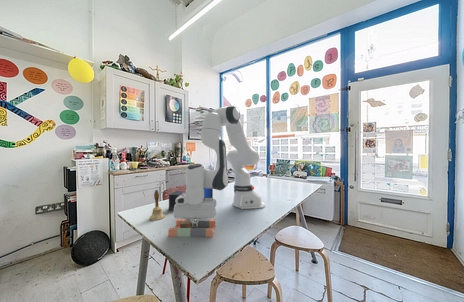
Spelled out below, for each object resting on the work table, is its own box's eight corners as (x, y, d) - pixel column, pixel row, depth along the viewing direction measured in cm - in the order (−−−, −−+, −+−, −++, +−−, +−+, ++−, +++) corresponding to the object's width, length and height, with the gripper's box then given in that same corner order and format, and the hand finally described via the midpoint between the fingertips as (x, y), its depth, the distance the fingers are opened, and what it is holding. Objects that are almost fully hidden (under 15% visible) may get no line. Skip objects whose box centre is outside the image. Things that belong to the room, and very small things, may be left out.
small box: (177, 211, 110) (177, 194, 110) (168, 210, 111) (168, 194, 111) (185, 205, 120) (185, 190, 120) (176, 205, 121) (176, 190, 121)
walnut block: (194, 227, 87) (194, 219, 87) (189, 233, 81) (189, 224, 81) (185, 226, 88) (185, 218, 88) (180, 232, 82) (180, 223, 82)
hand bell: (150, 221, 94) (150, 192, 94) (148, 217, 101) (147, 189, 100) (166, 218, 99) (166, 190, 99) (162, 213, 106) (162, 187, 105)
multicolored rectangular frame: (215, 225, 90) (215, 219, 90) (212, 237, 78) (212, 230, 78) (177, 224, 90) (177, 219, 90) (168, 236, 78) (168, 229, 78)
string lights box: (197, 205, 120) (197, 168, 119) (208, 204, 123) (208, 168, 122) (201, 212, 107) (201, 171, 107) (213, 210, 110) (213, 170, 110)
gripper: (217, 196, 86) (217, 223, 87) (176, 195, 87) (176, 223, 87) (215, 199, 80) (215, 229, 80) (171, 199, 81) (172, 229, 81)
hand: (195, 226), depth 84 cm, fingers closed
